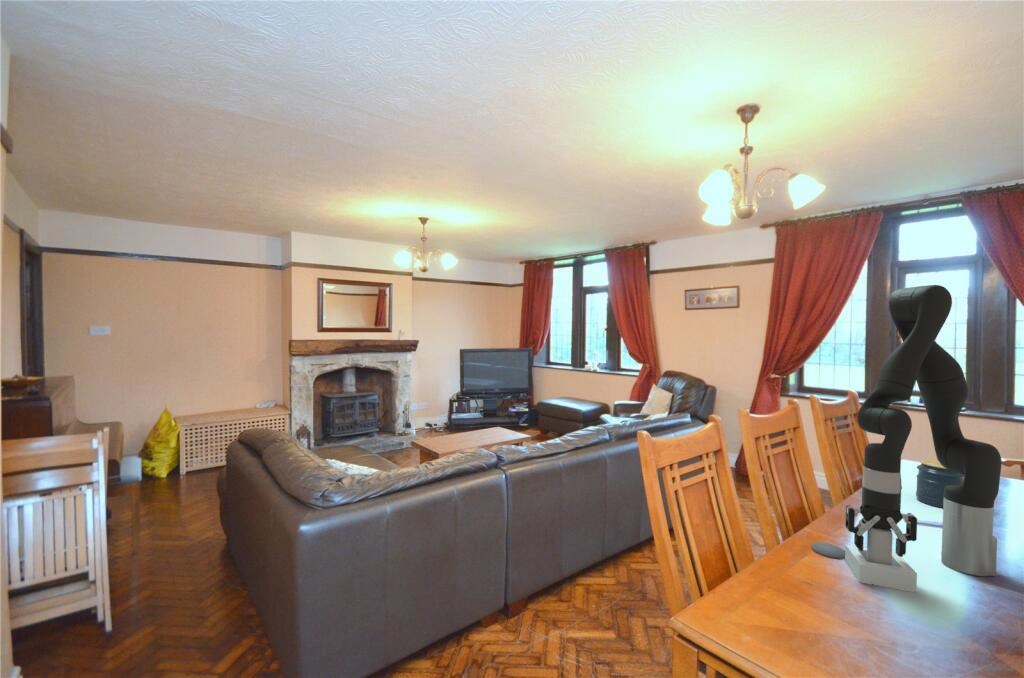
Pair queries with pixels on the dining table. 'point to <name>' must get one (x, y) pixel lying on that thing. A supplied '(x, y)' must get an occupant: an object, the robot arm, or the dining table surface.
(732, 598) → the dining table surface
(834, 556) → the coaster
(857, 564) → the pocket block
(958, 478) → the canister
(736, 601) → the dining table surface
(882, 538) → the beverage can
